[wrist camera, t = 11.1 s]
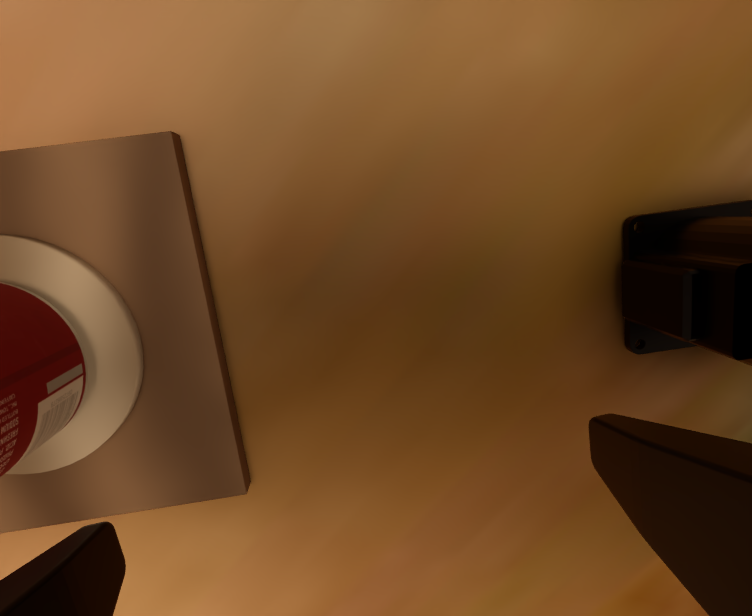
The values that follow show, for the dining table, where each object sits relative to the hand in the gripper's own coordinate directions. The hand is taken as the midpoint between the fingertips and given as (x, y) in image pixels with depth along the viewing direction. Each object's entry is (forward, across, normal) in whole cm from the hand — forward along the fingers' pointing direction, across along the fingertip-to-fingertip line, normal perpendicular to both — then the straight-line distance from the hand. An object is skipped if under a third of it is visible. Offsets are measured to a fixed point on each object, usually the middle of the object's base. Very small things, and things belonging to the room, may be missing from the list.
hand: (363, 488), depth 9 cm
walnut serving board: (+13, +13, -2) cm, 19 cm away
